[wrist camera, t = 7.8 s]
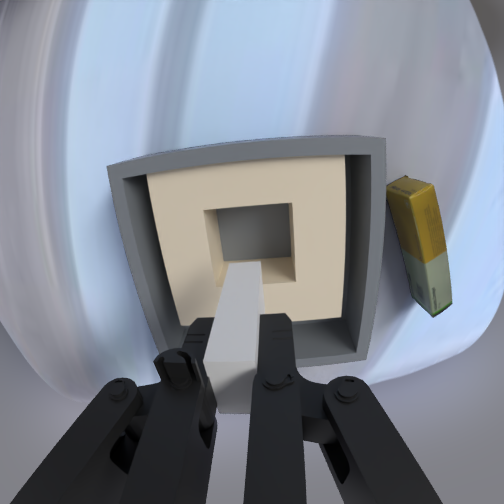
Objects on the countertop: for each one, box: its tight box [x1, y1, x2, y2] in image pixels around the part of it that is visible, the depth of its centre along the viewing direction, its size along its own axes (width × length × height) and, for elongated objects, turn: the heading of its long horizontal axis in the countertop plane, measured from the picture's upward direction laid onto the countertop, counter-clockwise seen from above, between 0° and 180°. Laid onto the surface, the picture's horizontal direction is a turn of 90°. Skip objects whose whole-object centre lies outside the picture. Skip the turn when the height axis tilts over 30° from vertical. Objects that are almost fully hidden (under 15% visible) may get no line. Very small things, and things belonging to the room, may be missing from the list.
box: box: [107, 135, 386, 368], centre depth 21 cm, size 17×17×6 cm
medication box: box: [386, 175, 452, 318], centre depth 21 cm, size 12×3×4 cm, turn 28°
